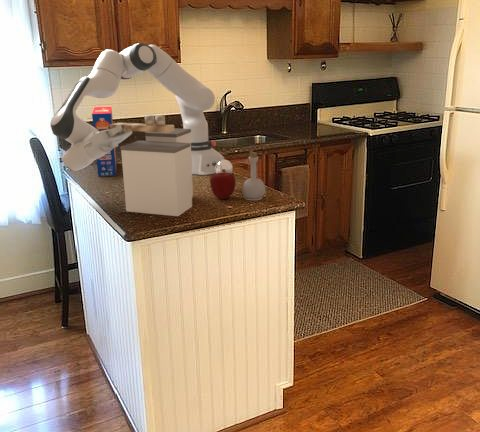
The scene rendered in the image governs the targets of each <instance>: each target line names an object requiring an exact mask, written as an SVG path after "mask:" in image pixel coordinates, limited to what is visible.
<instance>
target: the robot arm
mask: <svg viewBox="0 0 480 432" xmlns="http://www.w3.org/2000/svg"><path fill="white" fill-rule="evenodd" d="M145 71H147V72H148V73H149V74H150V75H151V76H152V77H153V78H154V79H155V80H156V81H158V82H159V83H160V84H161V85H162V86H163V87H164V88H165V89H167V91H169V92H170V93H172V94H173V95H175V100H176V103H177V105H178V108H179V111H180V116H181V120H182V127H183V128H182V129H191V132H190V136H191V160H192V175H199V176H207V175H213V174H216V170H215V167H216V164H217V163H218V162H219V161H220V160H226V159H225V156H223V155H222V154H221V153H220V152H218V151H217V150H216V149H214V148H213V147H216V145H217V143H216V141H212V140H209V124H208V121H207V120H206V117H205V114H204V111H207V110H210V109H211V108H212V107H213V106H214V105H215V102H216V98H215V94H214V92H213V91H212V90H211V89H210V88H208V86H206V85H204V84H203V83H202V82H201V81H199V80H198V79H197V78H196V77H194V76H193V75H191V74H190V73H189V72H187V71H186V70H185V69H184V68H183V67H181V65H180V64H178V62H176V61H175V60H174V58H172V56H170V55H169V54H168V53H167V52H166V51H164V50H163V49H162V48H160V47H159V46H157V45H155V44H153V43H152V44H146V43H143V42H138V43H134V44H132V45H130V46H128V47H126V48H124V49H123V50H122V51H120V52H118V51H116V50H113V49H105V50H103V51H102V52H101V53H100V55H99V56H98V58H97V59H96V61H95V62H94V65H93V68H92V69H91V71H90V73H89V75H88V76H85V75H84V76H83V77H81V78H80V79H79V80H78V81H77V82H76V83H75V85H74V86H73V88H72V89H71V91H69V92H70V93H68V95H67V97H66V98H65V100H64V101H63V103H62V105H61V107H59V109H58V110H57V111H56V113H55V114H54V115H53V117H52V118H51V121H50V128H51V132H52V134H53V135H54V136H56V137H58V138H60V139H62V140H65V141H67V142H68V143H70V144H71V146H70V147H69V148H68V149H66V151H65V152H64V153H62V155H61V161H62V163H63V164H64V165H65V167H67V168H68V169H70V170H72V171H74V172H75V171H80V170H82V169H84V168H87V167H88V166H90V165H91V164H93V162H95V161H97V159H99V158H101V157H102V156H104V155H105V154H107V153H109V152H110V151H111V150H112V149H114V148H115V149H116V148H118V147H119V144H120V143H122V142H123V141H124V140H126V139H127V138H128V137H130V136H131V135H132V134H133V131H122V130H123V129H124V127H123V126H122V125H118V126H117V127H115V128H113V129H107V130H104V131H98V130H97V129H96V128H95V127H93V124H90V123H89V122H86V120H83V119H82V118H81V117H79V116H78V115H77V114H76V111H77V109H78V107H79V106H80V104H81V103H82V102H83V100H84V98H85V97H86V96H87V97H92V98H96V99H107V98H110V97H112V96H113V95H115V93H116V91H117V90H118V88H119V84H120V82H121V80H129V79H132V78H135V77H137V76H139V75H141V74H142V73H144V72H145ZM129 123H132V122H129Z"/></svg>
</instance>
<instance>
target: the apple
mask: <svg viewBox="0 0 480 432" xmlns="http://www.w3.org/2000/svg"><path fill="white" fill-rule="evenodd" d="M209 186H210V189H211V192H212V193H213V195H214V196H215V197H216V199H219V200H227V199H229V198H230V197H231V196H232V195H233V194H234V191H235V188H236V178H235V175H234V174H233V173H227V172H223V173H213V174H211V177H210V181H209Z"/></svg>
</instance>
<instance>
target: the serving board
mask: <svg viewBox="0 0 480 432" xmlns="http://www.w3.org/2000/svg"><path fill="white" fill-rule="evenodd" d="M165 117H166V116H165V115H151V114H150V115H149V114H148V115H144V123H138V122H131V123H130V122H113V124H110V129H113V128H115V127H117V126H118V125H122V126H123V127H124V129H123V130H122V131H132V132H144V133H145V132H163V133H169V132H172V131H174V128H175V125H174V124H166V118H165Z"/></svg>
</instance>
